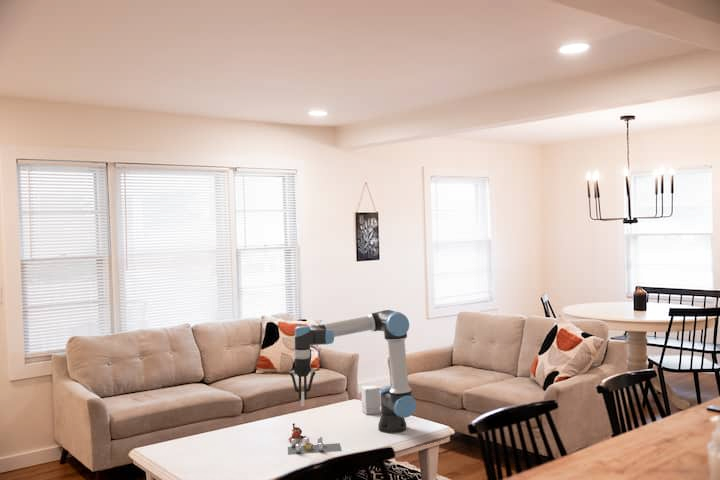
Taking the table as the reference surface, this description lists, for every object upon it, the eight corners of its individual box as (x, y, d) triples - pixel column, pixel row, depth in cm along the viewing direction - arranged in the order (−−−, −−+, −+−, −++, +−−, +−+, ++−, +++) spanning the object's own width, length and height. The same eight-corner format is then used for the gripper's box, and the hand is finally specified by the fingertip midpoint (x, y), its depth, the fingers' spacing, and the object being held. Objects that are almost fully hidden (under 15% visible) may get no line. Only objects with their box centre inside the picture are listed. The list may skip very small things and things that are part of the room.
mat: (339, 444, 333) (339, 443, 333) (341, 452, 321) (341, 450, 321) (287, 447, 330) (287, 446, 330) (287, 455, 318) (287, 454, 318)
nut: (312, 447, 327) (312, 442, 327) (313, 450, 323) (313, 445, 323) (303, 448, 327) (303, 443, 327) (303, 450, 323) (303, 445, 323)
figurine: (308, 434, 350) (305, 440, 335) (297, 444, 350) (293, 451, 335) (296, 419, 351) (291, 425, 336) (284, 429, 351) (280, 436, 336)
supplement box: (380, 413, 387) (380, 388, 387) (366, 415, 384) (365, 389, 384) (376, 409, 396) (375, 384, 395) (361, 411, 393) (360, 386, 393)
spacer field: (322, 444, 332) (322, 436, 332) (323, 452, 320) (323, 443, 320) (291, 446, 330) (291, 438, 330) (291, 454, 318) (291, 445, 318)
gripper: (315, 356, 330) (315, 403, 330) (289, 356, 329) (289, 404, 329) (316, 358, 323) (316, 407, 323) (289, 359, 321) (289, 408, 321)
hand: (302, 405), depth 326 cm, fingers closed
